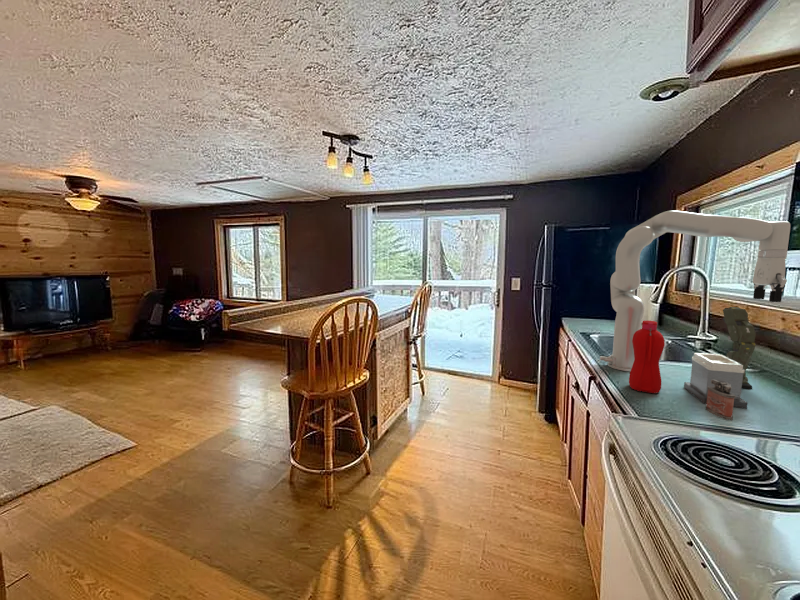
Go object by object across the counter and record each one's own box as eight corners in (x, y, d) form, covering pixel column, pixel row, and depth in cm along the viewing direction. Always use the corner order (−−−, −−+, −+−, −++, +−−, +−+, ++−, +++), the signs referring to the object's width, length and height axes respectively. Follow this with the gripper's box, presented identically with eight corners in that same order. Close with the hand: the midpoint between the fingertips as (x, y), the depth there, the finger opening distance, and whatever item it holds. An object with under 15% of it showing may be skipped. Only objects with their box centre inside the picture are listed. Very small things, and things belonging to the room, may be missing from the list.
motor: (704, 403, 116) (708, 363, 114) (683, 387, 131) (687, 351, 129) (747, 408, 112) (752, 367, 111) (721, 391, 127) (725, 354, 126)
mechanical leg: (764, 390, 125) (758, 305, 129) (740, 389, 127) (735, 305, 130) (736, 386, 139) (731, 309, 142) (714, 385, 140) (710, 309, 144)
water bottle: (630, 392, 125) (636, 322, 123) (627, 383, 135) (632, 318, 132) (662, 397, 121) (669, 325, 118) (657, 387, 131) (663, 320, 128)
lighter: (736, 420, 104) (740, 387, 103) (724, 420, 104) (728, 387, 103) (712, 408, 112) (716, 378, 111) (701, 408, 112) (705, 377, 111)
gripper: (746, 255, 143) (741, 297, 145) (774, 254, 127) (768, 302, 129) (770, 255, 141) (764, 298, 143) (802, 254, 124) (795, 303, 126)
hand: (766, 300), depth 136 cm, fingers open, 9 cm apart
